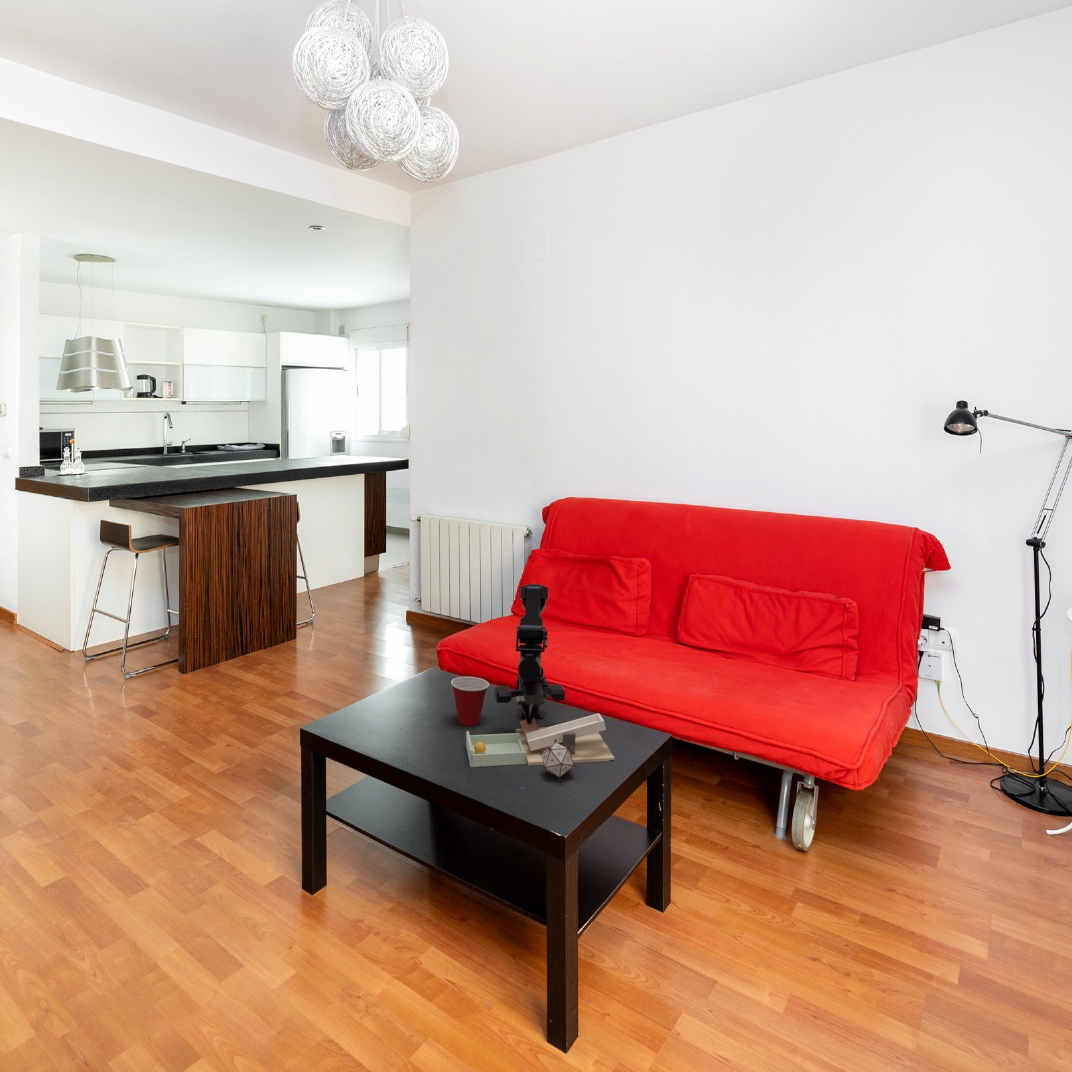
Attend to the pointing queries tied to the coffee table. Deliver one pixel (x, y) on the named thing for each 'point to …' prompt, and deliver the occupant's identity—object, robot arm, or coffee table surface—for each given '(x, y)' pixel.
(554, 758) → the game die
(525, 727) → the lever
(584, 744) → the lever stand
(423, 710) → the coffee table surface
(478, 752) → the ball
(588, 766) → the coffee table surface
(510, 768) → the coffee table surface
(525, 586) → the robot arm
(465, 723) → the plastic cup
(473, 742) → the tray
